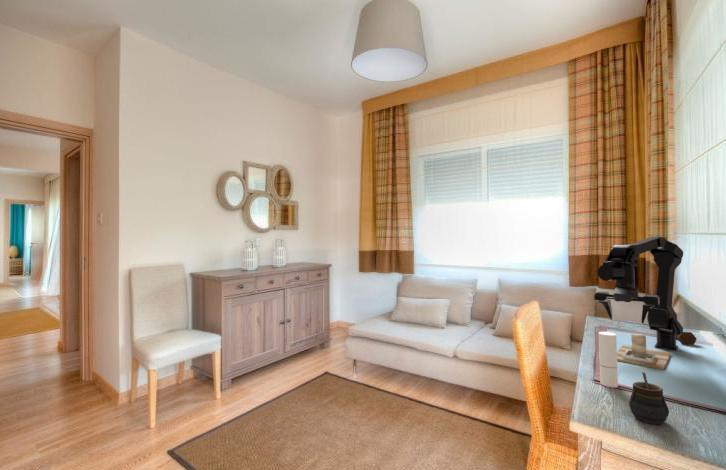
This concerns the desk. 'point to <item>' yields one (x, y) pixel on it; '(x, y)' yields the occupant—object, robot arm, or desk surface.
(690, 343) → the brown textured oblong piece
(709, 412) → the desk surface
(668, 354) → the subfloor panel
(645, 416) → the mate gourd
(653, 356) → the collar
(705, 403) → the desk surface
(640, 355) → the beige rounded cylinder
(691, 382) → the desk surface
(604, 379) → the tube
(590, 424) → the desk surface
